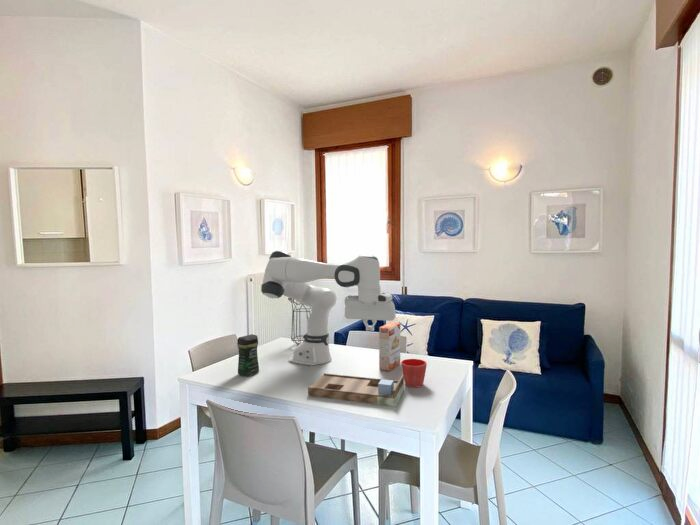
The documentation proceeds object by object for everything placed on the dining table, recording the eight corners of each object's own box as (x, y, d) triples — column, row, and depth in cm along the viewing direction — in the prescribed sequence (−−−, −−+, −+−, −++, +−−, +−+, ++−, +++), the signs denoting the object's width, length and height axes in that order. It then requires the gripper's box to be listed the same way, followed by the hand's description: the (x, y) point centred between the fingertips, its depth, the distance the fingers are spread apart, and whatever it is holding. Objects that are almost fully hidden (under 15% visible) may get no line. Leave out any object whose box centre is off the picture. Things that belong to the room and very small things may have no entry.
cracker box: (390, 371, 183) (389, 328, 182) (378, 370, 186) (378, 327, 185) (401, 363, 195) (400, 322, 194) (390, 361, 198) (389, 321, 197)
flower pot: (409, 378, 174) (409, 356, 174) (431, 383, 167) (430, 361, 167) (396, 385, 166) (396, 362, 165) (419, 390, 159) (418, 367, 158)
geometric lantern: (288, 349, 226) (286, 289, 225) (295, 342, 241) (293, 287, 240) (314, 349, 223) (312, 289, 222) (320, 342, 239) (318, 286, 238)
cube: (378, 393, 149) (378, 383, 149) (381, 389, 154) (381, 379, 154) (390, 395, 147) (390, 385, 147) (393, 390, 152) (393, 380, 152)
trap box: (308, 395, 156) (307, 381, 156) (324, 381, 172) (323, 368, 172) (395, 406, 144) (395, 390, 144) (403, 389, 160) (403, 375, 160)
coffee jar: (246, 378, 178) (244, 338, 177) (235, 375, 183) (233, 336, 182) (262, 372, 186) (260, 334, 185) (251, 369, 190) (250, 332, 189)
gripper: (341, 296, 151) (342, 331, 152) (392, 297, 145) (393, 333, 145) (347, 294, 157) (347, 327, 158) (396, 295, 151) (396, 330, 151)
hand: (370, 330), depth 152 cm, fingers closed
